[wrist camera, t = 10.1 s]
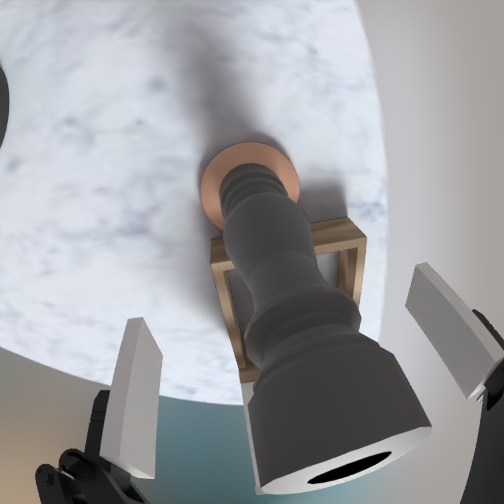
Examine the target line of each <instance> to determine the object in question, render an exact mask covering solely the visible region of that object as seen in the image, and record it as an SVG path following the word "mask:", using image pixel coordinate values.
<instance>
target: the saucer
mask: <svg viewBox="0 0 504 504" xmlns="http://www.w3.org/2000/svg"><path fill="white" fill-rule="evenodd" d="M247 163H257V164H261V165H265V166H266V167H268V168H269V169H270V170H272V171H273V172H274V173H275V174H276V175H277V176H278V178H279V179H280V180H281V181H282V183H283V185H284V187H285V189H286V190H287V192H288V197H289V198H290V199H292V200H293V201H294V202H295V203H298V200H299V194H300V184H299V179H298V175H297V173H296V170H295V168H294V167H293V165H292V163H291V162H290V161H289V160H288V159H287V158H286V157H285V156H284V155H283V154H282V153H281V152H279V151H278V150H276V149H275V148H273V147H271V146H269V145H266V144H263V143H257V142H243V143H239V144H235V145H232V146H230V147H228V148H226V149H224V150H222V151H221V152H220V153H218V154H217V155H216V156H215V157H214V158H213V159H212V160H211V162H210V163H209V164H208V166H207V168H206V170H205V172H204V174H203V178H202V182H201V189H200V196H201V203H202V206H203V209H204V211H205V213H206V215H207V217H208V218H209V219H210V221H211V222H212V223H213V224H214V225H215V226H216V227H217V228H219V229H220V230H222V231H223V230H224V227H225V223H226V222H225V219H224V218H223V216H222V212H221V206H220V196H219V191H220V187H221V183H222V180H223V179H224V177H225V176H226V175H227V174H228V172H229V171H230V170H232V169H234V168H235V167H237V166H239V165H241V164H247Z"/></svg>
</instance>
